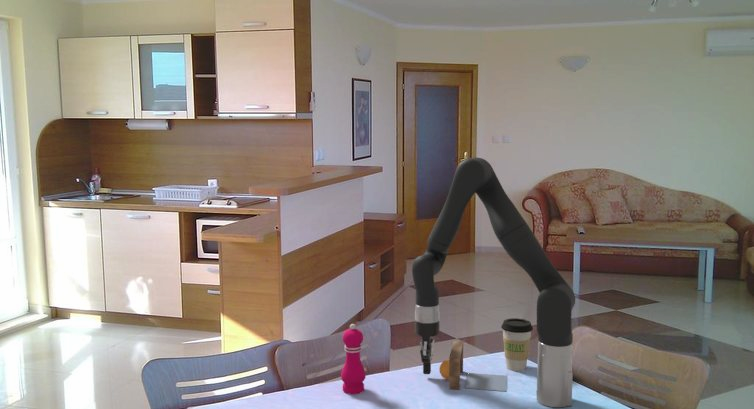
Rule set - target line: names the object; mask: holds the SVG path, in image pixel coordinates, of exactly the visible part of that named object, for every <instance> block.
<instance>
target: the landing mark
mask: <svg viewBox="0 0 754 409" xmlns="http://www.w3.org/2000/svg"><path fill="white" fill-rule="evenodd" d="M468 373H469V374H468ZM464 384H465V385H464V389H467V390H481V391H494V392H495V391H496V392H507V375H503V374H488V373H473V372H467V374H466V379H465V383H464Z"/></svg>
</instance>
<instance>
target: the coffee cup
mask: <svg viewBox="0 0 754 409" xmlns="http://www.w3.org/2000/svg"><path fill="white" fill-rule="evenodd" d="M501 329H502V341H503V351H504V358H505V364H506V365H505V367H506V369H507V370H508V371H509V370H510V371H513V372H522V371H525V370H526V369H527V365H528V364H527V363H528V359H529V352H530V347H531V340H532V337H531V336H532V331H533V325H532V323H531V321H530V320H527V319H524V318H518V317H517V318H513V317H512V318H507V319H504V320H503V322H502V324H501Z"/></svg>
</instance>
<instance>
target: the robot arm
mask: <svg viewBox="0 0 754 409" xmlns="http://www.w3.org/2000/svg"><path fill="white" fill-rule="evenodd" d="M454 172H455V173H454V175H453V179H452V182H451V184H450V185H451V186H450V188H449V191H448V193H447V194H448V195H447V197H446V199H445V202H444V205H443V207H442V210H441V211H440V213H439V216H438V217H437V220H436V222H435V223H434V225H433V227H432V229H431V231H430V233H429V235H428V238H427V240H426V243H427V248H426V250H425V252H424V253H423V254H422V255H419V256H417V257H415V259H414V260H413V262H412V267H411V273H412V279H413V285H414V289H415V307H414V333H415V334H416V335H417V336H420V337H421V339H420V340H419V348H420V350H419V352H420V353H419V354H420V359H421V363H422V364H423V365H422V366H423V367H422V371H423V372H422V374H424V375H430V374H431V372H432V360H433V353H434V344H435V338H433V337H436V336H438V335H439V334H440V327H441V326H440V324H441V323H440V322H441V321H440V316H441V314H440V313H441V312H440V304H439V303H440V294H439V293H440V292H439V287H438V286H437V285H435V279H434V278H435V277H434V276H435V275H437V274H438V273H439V272H440V271H441V270H442V269H443V266H444V264H445V262H446V259H447V255H448V252H449V250H450V247H451V246H452V244H453V242H454V240H455V238H456V236H457V235H458V232H459V230H460V226H461V223H462V220H463V217H464V212H465V210H466V209H467V206H468V204H469V202H470V200H472V198H473V196H474V195H475V194H476V195H477V197H478V198H479V200H480V201H481V203H482V204H483V205H484V207H485V209H486V212H487V215H488V218H489V221H490V224H491V227H492V230H493V233H494V235H495V236H496V238H497V240H498V241H499V243H500V245H501V246H502V248H503V249H504V251H505V252H506V254H507V255H508V256H509V257H510V258H511V259H512V260H513V261H514V262H515V263H516V264H517V265H518V266H519V267H520V268H521V269H522V270H524V271H525V273H526V274H527V275H528V276H529V277H530V278H531V280H532V282H533V284H534V286H535V287H536V289H537V291H538V292H539V294H538V295H537V296H538V297H537V299H536V331H537V364H536V365H537V368H536V369H537V371H536V374H537V375H536V401H537V402H538V403H539V404H541V405H542V406H546V407H551V408H564V407H572V405H573V404H572V403H573V401H572V400H573V369H572V368H573V367H572V366H573V340H574V339H573V338H574V335H573V331H572V310H573V308H574V306H575V305H576V296H575V293H574V291H573V289H572V287H571V286H570V285H569V284H568V283H567V281H566V280H565V278H564V277H563V276H562V275H561V273H559V271H558V270H557V269H556V267H555V266H554V265H553V263H552V262H551V260H550V258H549V257H548V255H547V254H546V252H545V250H544V247H543V246H542V245H541V244H540V242H539V240H538V238H537V237H536V236H535V234H534V232H533V231H532V229H531V227H530V226H529V224H528V223H527V221H526V220H525V218H524V217H523V216H522V214H521V213H520V211H519V210H518V209H517V207H516V205H515V204H514V203H513V201H512V200H511V198H510V197H509V195H508V194H507V193H506V191H505V189H504V188H503V186H502V184H501V182H500V180H499V178H498V176H497V174H496V172H495V170H494V168H493V166H492V165H491V164H490V163H489V162H488V161H487V160H486V159H484V158H483V157H470V158H467V159H463V160H462V161H460V163H459V164H458V165H457V167H456V170H455V171H454Z"/></svg>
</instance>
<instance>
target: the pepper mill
mask: <svg viewBox="0 0 754 409" xmlns="http://www.w3.org/2000/svg"><path fill="white" fill-rule="evenodd" d="M342 342H343V344H344V352H345V355H346V356H345V362H344V364H343V367H342V369H341V373H340V379H341V380H342V382H343V384H342V392H343V393H345V394H346V395H348V394H349V395H358V394H361V393H364V390H365V384H364V381H365V379H366V378H367V377H366V370H365V368H364V366H363V363H362V360H361V351H362V350H363V349H362V346H363V345H362V343H363V342H364V335H363V332H362V331H361V330H360V329H358V328H357V325H355V324H354V323H351V324H350V325H349V328H348V329H346V330H345V331H344V332H343V334H342Z"/></svg>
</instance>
